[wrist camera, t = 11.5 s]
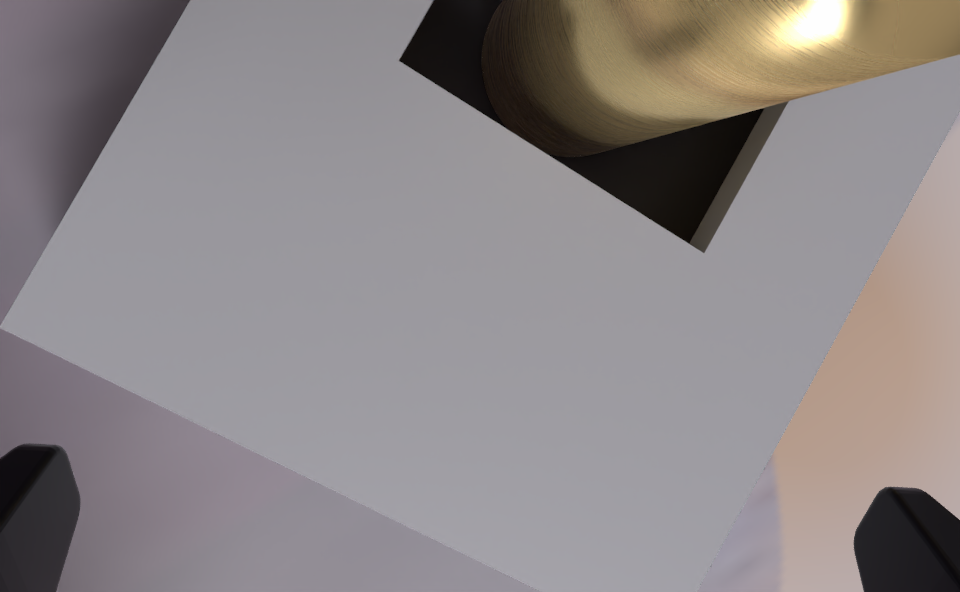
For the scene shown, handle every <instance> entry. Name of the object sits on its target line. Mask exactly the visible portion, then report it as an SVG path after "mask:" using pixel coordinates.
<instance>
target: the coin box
mask: <svg viewBox="0 0 960 592" xmlns="http://www.w3.org/2000/svg"><path fill="white" fill-rule="evenodd" d="M433 1H434V0H190V2H189V3H188V5H187V7H186V8H185V10H184V12H183V14H182V15H181V17H180V19H179V20H178V22H177V24H176V26H175V27H174V29H173V31H172V32H171V34H170V36H169V38H168V39H167V41H166V43H165V44H164V46H163V48H162V50H161V51H160V53H159V55H158V56H157V58H156V60H155V62H154V63H153V65H152V67H151V68H150V70H149V72H148V74H147V75H146V77H145V79H144V80H143V82H142V84H141V85H140V87H139V89H138V91H137V92H136V94H135V96H134V97H133V99H132V101H131V103H130V104H129V106H128V108H127V109H126V111H125V113H124V115H123V116H122V118H121V120H120V121H119V123H118V125H117V127H116V128H115V130H114V132H113V133H112V135H111V137H110V139H109V140H108V142H107V144H106V145H105V147H104V149H103V151H102V152H101V154H100V156H99V157H98V159H97V161H96V163H95V164H94V166H93V168H92V169H91V171H90V173H89V175H88V176H87V178H86V180H85V181H84V183H83V185H82V187H81V188H80V190H79V192H78V193H77V195H76V197H75V199H74V200H73V202H72V204H71V205H70V207H69V209H68V211H67V212H66V214H65V216H64V217H63V219H62V221H61V223H60V224H59V226H58V228H57V229H56V231H55V233H54V235H53V236H52V238H51V240H50V241H49V243H48V245H47V247H46V248H45V250H44V252H43V253H42V255H41V257H40V259H39V260H38V262H37V264H36V265H35V267H34V269H33V271H32V272H31V274H30V276H29V277H28V279H27V281H26V283H25V284H24V286H23V288H22V289H21V291H20V293H19V295H18V296H17V298H16V300H15V301H14V303H13V305H12V307H11V308H10V310H9V312H8V313H7V315H6V317H5V319H4V320H3V322H2V324H1V325H0V328H1V329H3V330H5V331H7V332H9V333H11V334H13V335H15V336H17V337H19V338H21V339H23V340H25V341H28V342H30V343H32V344H34V345H36V346H38V347H40V348H42V349H44V350H46V351H48V352H50V353H52V354H54V355H56V356H58V357H60V358H62V359H64V360H66V361H68V362H71V363H73V364H75V365H77V366H79V367H81V368H83V369H85V370H87V371H89V372H91V373H93V374H95V375H97V376H99V377H101V378H103V379H105V380H107V381H109V382H112V383H114V384H116V385H118V386H120V387H122V388H124V389H126V390H128V391H130V392H132V393H134V394H136V395H138V396H140V397H142V398H144V399H146V400H148V401H150V402H152V403H155V404H157V405H159V406H161V407H163V408H165V409H167V410H169V411H171V412H173V413H175V414H177V415H179V416H181V417H183V418H185V419H187V420H189V421H191V422H193V423H195V424H198V425H200V426H202V427H204V428H206V429H208V430H210V431H212V432H214V433H216V434H218V435H220V436H222V437H224V438H226V439H228V440H230V441H232V442H234V443H236V444H238V445H241V446H243V447H245V448H247V449H249V450H251V451H253V452H255V453H257V454H259V455H261V456H263V457H265V458H267V459H269V460H271V461H273V462H275V463H277V464H279V465H282V466H284V467H286V468H288V469H290V470H292V471H294V472H296V473H298V474H300V475H302V476H304V477H306V478H308V479H310V480H312V481H314V482H316V483H318V484H320V485H322V486H325V487H327V488H329V489H331V490H333V491H335V492H337V493H339V494H341V495H343V496H345V497H347V498H349V499H351V500H353V501H355V502H357V503H359V504H361V505H363V506H365V507H368V508H370V509H372V510H374V511H376V512H378V513H380V514H382V515H384V516H386V517H388V518H390V519H392V520H394V521H396V522H398V523H400V524H402V525H404V526H406V527H409V528H411V529H413V530H415V531H417V532H419V533H421V534H423V535H425V536H427V537H429V538H431V539H433V540H435V541H437V542H439V543H441V544H443V545H445V546H447V547H449V548H452V549H454V550H456V551H458V552H460V553H462V554H464V555H466V556H468V557H470V558H472V559H474V560H476V561H478V562H480V563H482V564H484V565H486V566H488V567H490V568H492V569H495V570H497V571H499V572H501V573H503V574H505V575H507V576H509V577H511V578H513V579H515V580H517V581H519V582H521V583H523V584H525V585H527V586H529V587H531V588H533V589H535V590H538V591H540V592H697V590H698V589H699V587H700V585H701V583H702V581H703V580H704V578H705V576H706V574H707V572H708V570H709V569H710V567H711V565H712V563H713V561H714V559H715V558H716V556H717V554H718V552H719V550H720V548H721V547H722V545H723V543H724V541H725V539H726V538H727V536H728V534H729V532H730V530H731V528H732V527H733V525H734V523H735V521H736V519H737V517H738V516H739V514H740V512H741V510H742V508H743V506H744V505H745V503H746V501H747V499H748V497H749V496H750V494H751V492H752V490H753V488H754V486H755V485H756V483H757V481H758V479H759V477H760V475H761V474H762V472H763V470H764V468H765V466H766V464H767V463H768V461H769V459H770V457H771V455H772V454H773V452H774V450H775V448H776V446H777V444H778V443H779V441H780V439H781V437H782V435H783V433H784V431H785V430H786V428H787V426H788V424H789V422H790V421H791V419H792V417H793V415H794V413H795V411H796V410H797V408H798V406H799V404H800V402H801V401H802V399H803V397H804V395H805V393H806V391H807V390H808V388H809V386H810V384H811V382H812V381H813V379H814V377H815V375H816V373H817V371H818V369H819V368H820V366H821V364H822V362H823V360H824V359H825V357H826V355H827V353H828V351H829V349H830V348H831V346H832V344H833V342H834V340H835V339H836V336H837V335H838V333H839V331H840V329H841V327H842V325H843V324H844V322H845V320H846V318H847V316H848V314H849V313H850V311H851V309H852V307H853V306H854V303H855V302H856V300H857V298H858V296H859V295H860V293H861V291H862V289H863V287H864V286H865V283H866V282H867V280H868V278H869V276H870V275H871V273H872V271H873V269H874V267H875V265H876V264H877V262H878V260H879V258H880V256H881V254H882V253H883V251H884V249H885V247H886V245H887V244H888V242H889V240H890V238H891V236H892V234H893V233H894V231H895V229H896V227H897V225H898V223H899V222H900V220H901V218H902V216H903V214H904V212H905V211H906V209H907V207H908V205H909V203H910V202H911V200H912V198H913V196H914V194H915V192H916V191H917V189H918V187H919V185H920V183H921V181H922V180H923V178H924V176H925V174H926V172H927V170H928V169H929V167H930V165H931V163H932V161H933V160H934V158H935V156H936V154H937V152H938V150H939V149H940V147H941V145H942V143H943V141H944V140H945V138H946V136H947V134H948V132H949V130H950V129H951V127H952V125H953V123H954V121H955V119H956V118H957V116H958V114H959V112H960V55H956V56H952V57H949V58H945V59H941V60H938V61H934V62H930V63H927V64H923V65H919V66H916V67H912V68H908V69H905V70H901V71H897V72H894V73H890V74H886V75H883V76H879V77H875V78H872V79H868V80H864V81H861V82H857V83H853V84H850V85H846V86H842V87H839V88H835V89H831V90H828V91H824V92H820V93H817V94H813V95H809V96H806V97H802V98H798V99H795V100H791V101H787V102H784V103H780V104H776V105H773V106H769V107H765V108H764V110H763V112H762V114H761V116H760V117H759V119H758V121H757V123H756V124H755V126H754V128H753V130H752V132H751V133H750V135H749V137H748V139H747V141H746V142H745V144H744V146H743V148H742V150H741V151H740V153H739V155H738V157H737V159H736V160H735V162H734V164H733V166H732V168H731V169H730V171H729V173H728V175H727V177H726V178H725V180H724V182H723V184H722V186H721V187H720V189H719V191H718V193H717V195H716V196H715V198H714V200H713V202H712V204H711V205H710V207H709V209H708V211H707V213H706V214H705V216H704V218H703V220H702V222H701V223H700V225H699V227H698V229H697V231H696V232H695V234H694V236H693V238H692V240H691V241H690V243H689V244H688V243H687V242H685V241H684V240H682V239H681V238H679V237H677V236H676V235H674V234H673V233H671V232H669V231H668V230H666V229H665V228H663V227H662V226H660V225H658V224H657V223H655V222H654V221H652V220H650V219H649V218H647V217H646V216H644V215H642V214H641V213H639V212H638V211H636V210H635V209H633V208H631V207H630V206H628V205H627V204H625V203H623V202H622V201H620V200H619V199H617V198H616V197H614V196H612V195H611V194H609V193H608V192H606V191H604V190H603V189H601V188H600V187H598V186H597V185H595V184H593V183H592V182H590V181H589V180H587V179H585V178H584V177H582V176H581V175H579V174H577V173H576V172H574V171H573V170H571V169H570V168H568V167H566V166H565V165H563V164H562V163H560V162H558V161H557V160H555V159H554V158H552V157H551V156H549V155H547V154H546V153H544V152H543V151H541V150H539V149H538V148H536V147H535V146H533V145H532V144H530V143H528V142H527V141H525V140H524V139H522V138H520V137H519V136H517V135H516V134H514V133H512V132H511V131H509V130H508V129H506V128H505V127H503V126H501V125H500V124H498V123H497V122H495V121H493V120H492V119H490V118H489V117H487V116H486V115H484V114H482V113H481V112H479V111H478V110H476V109H474V108H473V107H471V106H470V105H468V104H467V103H465V102H463V101H462V100H460V99H459V98H457V97H455V96H454V95H452V94H451V93H449V92H447V91H446V90H444V89H443V88H441V87H440V86H438V85H436V84H435V83H433V82H432V81H430V80H428V79H427V78H425V77H424V76H422V75H421V74H419V73H417V72H416V71H414V70H413V69H411V68H409V67H408V66H406V65H405V64H403V63H402V62H400V61H399V60H400V59H401V57H402V55H403V53H404V52H405V50H406V48H407V46H408V45H409V43H410V41H411V39H412V38H413V36H414V34H415V32H416V31H417V29H418V27H419V26H420V24H421V22H422V20H423V19H424V17H425V15H426V13H427V12H428V10H429V8H430V6H431V5H432V3H433Z"/></svg>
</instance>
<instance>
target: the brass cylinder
mask: <svg viewBox="0 0 960 592" xmlns="http://www.w3.org/2000/svg"><path fill="white" fill-rule="evenodd" d="M956 55H960V0H503V1H502V2H501V4H500V5H499V6H498V8H497V9H496V11H495V13H494V14H493V16H492V18H491V20H490V22H489V25H488V27H487V30H486V33H485V37H484V41H483V47H482V62H481V67H482V75H483V81H484V85H485V89H486V93H487V95H488V98H489V100H490V103H491V105H492V107H493V109H494V110H495V112H496V114H497V115H498V117H499V118H500V120H501V121H502V123H503V124H504V125H505V126H506V127H507V128H508V129H509V130H510V131H511V132H512V133H514V134H516V135H517V136H519V137H520V138H522V139H524V140H525V141H527V142H528V143H530V144H532V145H533V146H535V147H536V148H538V149H539V150H541V151H543V152H544V153H547V154H550V155H554V156H560V157H583V156H589V155H593V154H597V153H600V152H604V151H608V150H611V149H615V148H619V147H622V146H626V145H630V144H633V143H637V142H641V141H644V140H648V139H652V138H655V137H659V136H663V135H666V134H670V133H674V132H677V131H681V130H685V129H688V128H692V127H696V126H699V125H703V124H707V123H710V122H714V121H718V120H721V119H725V118H729V117H732V116H736V115H740V114H743V113H747V112H751V111H754V110H758V109H762V108H765V107H769V106H773V105H776V104H780V103H784V102H787V101H791V100H795V99H798V98H802V97H806V96H809V95H813V94H817V93H820V92H824V91H828V90H831V89H835V88H839V87H842V86H846V85H850V84H853V83H857V82H861V81H864V80H868V79H872V78H875V77H879V76H883V75H886V74H890V73H894V72H897V71H901V70H905V69H908V68H912V67H916V66H919V65H923V64H927V63H930V62H934V61H938V60H941V59H945V58H949V57H952V56H956Z"/></svg>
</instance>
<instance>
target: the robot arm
mask: <svg viewBox="0 0 960 592" xmlns="http://www.w3.org/2000/svg"><path fill="white" fill-rule="evenodd" d="M79 511H80V495H79V491H78V487H77V484H76V481H75V478H74V475H73V472H72V469H71V465H70V462H69V459H68V456H67V454H66V451H65V450H64V449H63V448H62V447H60V446H57V445H46V444H22V445H20V446H17V447H15V448H14V449H12V450H11V451H9V452H8V453H7V454H5V455H4V456H3V457H1V458H0V592H56V590H57V587H58V584H59V580H60V577H61V574H62V570H63V567H64V564H65V560H66V557H67V554H68V550H69V547H70V544H71V540H72V537H73V533H74V530H75V527H76V523H77V520H78V516H79ZM854 551H855V556H856V560H857V564H858V569H859V572H860V577H861V581H862V585H863V590H864V592H960V520H959V519H958V518H957V517H955V516H954V515H953V514H952V513H951V512H949V511H948V510H947V509H946V508H945V507H943V506H942V505H941V504H940V503H938V502H937V501H936V500H935V499H934V498H933V497H931V496H930V495H929V494H927V493H926V492H924V491H922V490H920V489H917V488H903V487H885V488H884V489H882V490H881V491H879V493H878V494H877V495H876V497H875V498H874V500H873V502H872V504H871V505H870V507H869V509H868V511H867V512H866V514H865V516H864V517H863V519H862V521H861V522H860V524H859V526H858V527H857V529H856V532H855V537H854Z"/></svg>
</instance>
